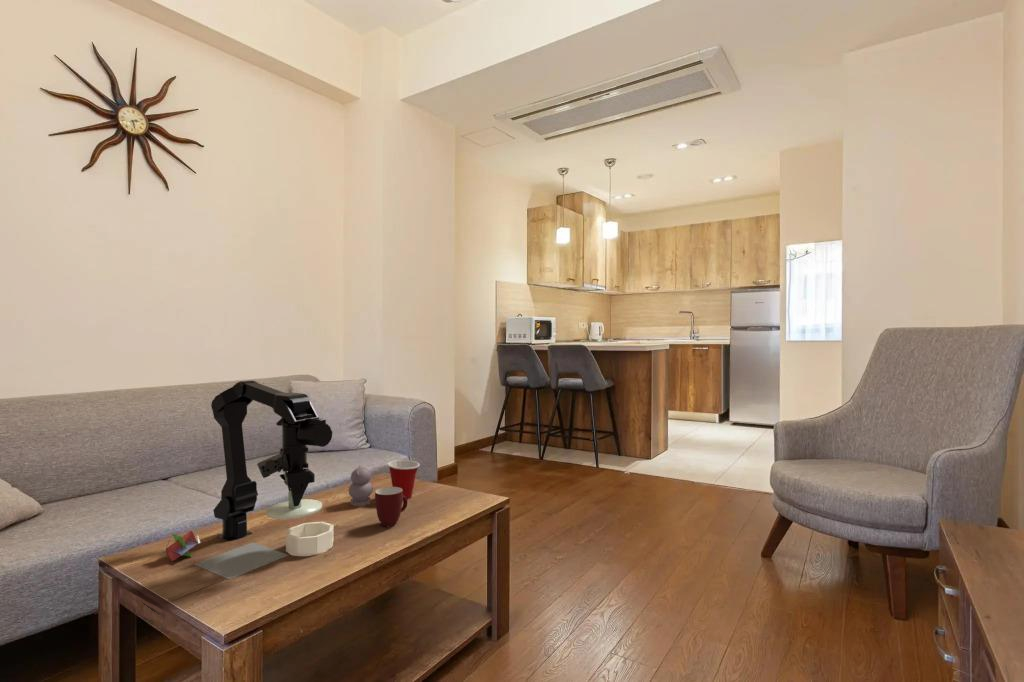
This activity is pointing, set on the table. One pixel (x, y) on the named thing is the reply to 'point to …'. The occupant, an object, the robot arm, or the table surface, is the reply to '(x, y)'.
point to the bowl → (309, 539)
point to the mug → (389, 505)
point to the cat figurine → (360, 486)
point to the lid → (294, 509)
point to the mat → (240, 560)
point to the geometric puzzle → (182, 546)
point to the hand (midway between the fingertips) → (295, 504)
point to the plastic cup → (403, 475)
